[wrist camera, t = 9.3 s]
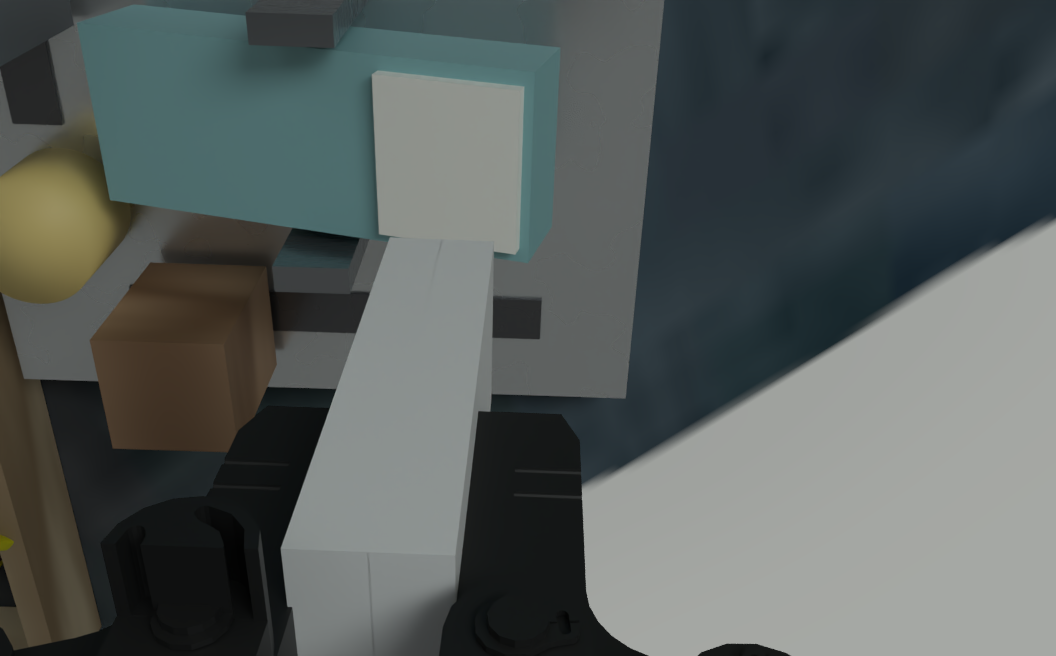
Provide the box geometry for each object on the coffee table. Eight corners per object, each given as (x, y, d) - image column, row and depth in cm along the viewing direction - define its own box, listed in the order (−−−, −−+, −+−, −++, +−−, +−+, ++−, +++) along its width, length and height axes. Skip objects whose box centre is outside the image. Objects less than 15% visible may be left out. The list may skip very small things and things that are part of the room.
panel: (54, 343, 30) (-67, 486, 24) (-70, -181, 23) (-284, -163, 17) (620, 361, 30) (640, 508, 24) (668, -155, 23) (712, -126, 17)
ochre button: (23, 256, 26) (-24, 301, 24) (-3, 145, 24) (-57, 183, 22) (139, 259, 26) (102, 306, 24) (120, 149, 24) (78, 187, 22)
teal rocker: (160, 171, 25) (101, 204, 23) (133, 4, 23) (67, 25, 21) (551, 226, 22) (524, 269, 20) (560, 47, 20) (530, 75, 18)
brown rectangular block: (167, 360, 27) (113, 448, 24) (150, 262, 26) (89, 340, 22) (276, 364, 27) (238, 452, 24) (266, 266, 26) (223, 344, 22)
